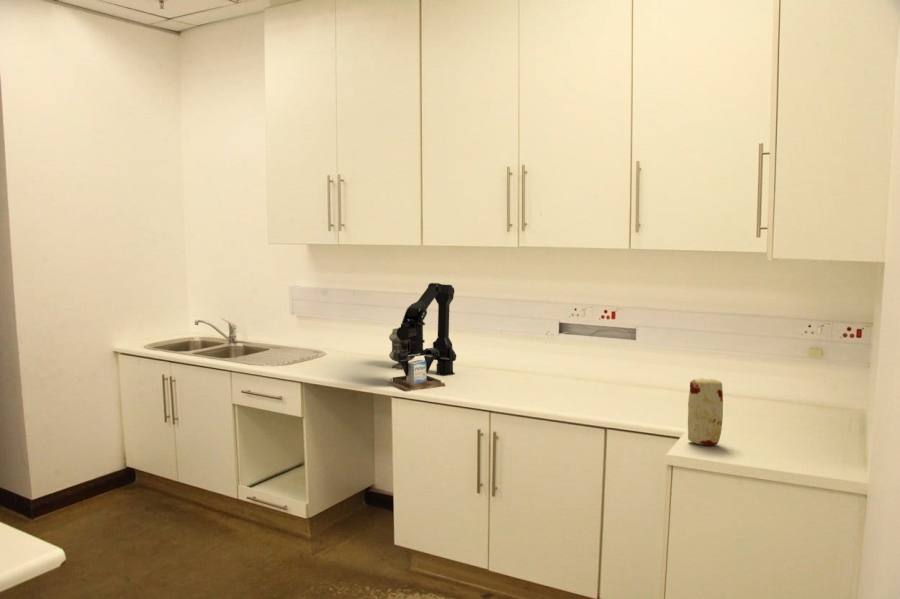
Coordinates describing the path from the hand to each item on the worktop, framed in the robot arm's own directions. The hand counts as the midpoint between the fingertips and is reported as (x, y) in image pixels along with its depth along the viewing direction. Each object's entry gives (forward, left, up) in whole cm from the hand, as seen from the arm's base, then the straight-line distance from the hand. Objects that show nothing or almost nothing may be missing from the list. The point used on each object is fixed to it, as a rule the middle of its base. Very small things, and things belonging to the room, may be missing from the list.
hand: (416, 374), depth 290 cm
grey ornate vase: (-12, -36, -4) cm, 39 cm away
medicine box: (0, 0, -4) cm, 4 cm away
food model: (-35, +116, -4) cm, 121 cm away
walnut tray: (0, 0, -4) cm, 4 cm away
